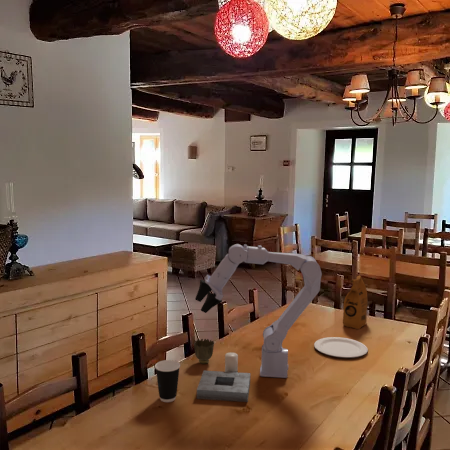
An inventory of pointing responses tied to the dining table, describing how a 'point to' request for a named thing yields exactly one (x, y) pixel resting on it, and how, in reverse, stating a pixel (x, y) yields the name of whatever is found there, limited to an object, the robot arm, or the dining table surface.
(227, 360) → the white rounded cylinder
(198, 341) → the cup
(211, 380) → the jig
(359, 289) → the coffee package
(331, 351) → the plate
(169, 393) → the dixie cup
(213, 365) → the dining table surface
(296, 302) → the robot arm
